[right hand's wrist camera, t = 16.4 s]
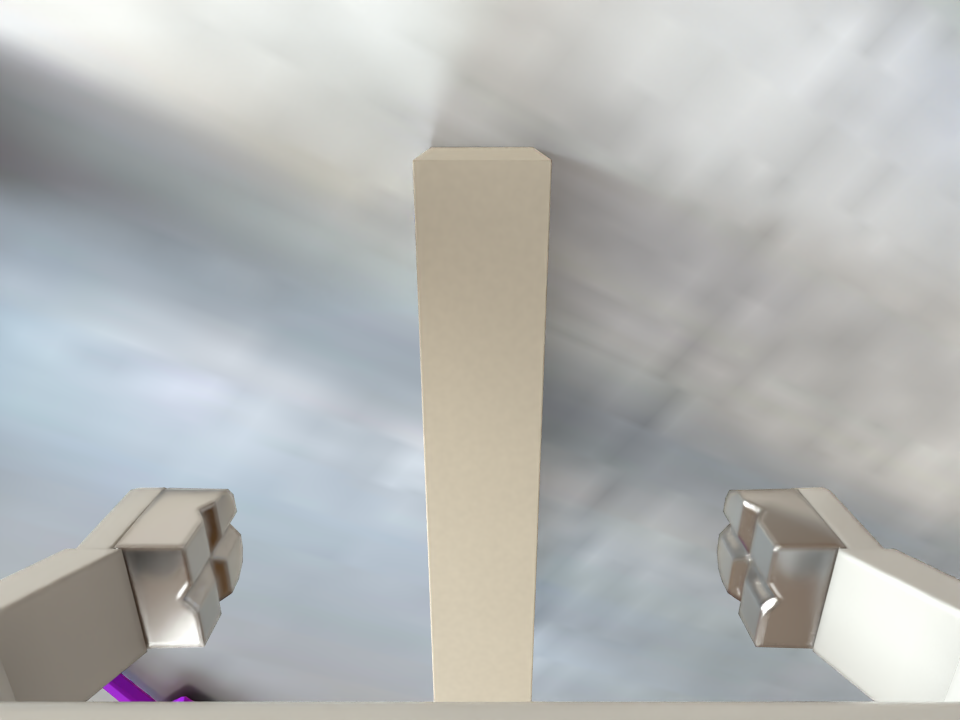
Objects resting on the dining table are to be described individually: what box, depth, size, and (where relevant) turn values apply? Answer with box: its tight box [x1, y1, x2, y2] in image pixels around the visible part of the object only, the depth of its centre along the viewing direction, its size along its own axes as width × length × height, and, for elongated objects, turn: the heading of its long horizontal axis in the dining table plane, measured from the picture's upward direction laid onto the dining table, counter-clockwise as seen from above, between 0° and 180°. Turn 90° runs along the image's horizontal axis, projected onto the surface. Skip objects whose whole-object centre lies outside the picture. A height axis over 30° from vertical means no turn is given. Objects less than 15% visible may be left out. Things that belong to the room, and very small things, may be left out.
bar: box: [413, 147, 552, 702], centre depth 32 cm, size 28×5×8 cm, turn 0°
